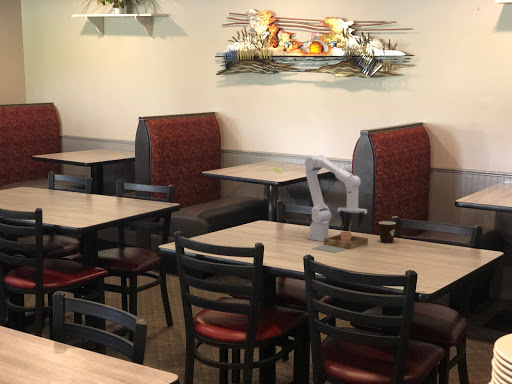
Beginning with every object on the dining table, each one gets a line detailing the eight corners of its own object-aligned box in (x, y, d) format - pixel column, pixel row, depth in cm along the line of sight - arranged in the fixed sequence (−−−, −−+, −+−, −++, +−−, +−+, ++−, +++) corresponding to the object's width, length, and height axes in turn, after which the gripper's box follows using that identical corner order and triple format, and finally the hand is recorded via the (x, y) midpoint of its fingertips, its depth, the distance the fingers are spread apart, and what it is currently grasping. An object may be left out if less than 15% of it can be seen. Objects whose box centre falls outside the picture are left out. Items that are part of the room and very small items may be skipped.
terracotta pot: (338, 244, 345) (338, 232, 344) (344, 242, 349) (344, 231, 348) (347, 246, 341) (347, 234, 340) (353, 244, 345) (353, 232, 344)
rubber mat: (312, 248, 336) (312, 248, 336) (322, 245, 342) (322, 245, 342) (335, 252, 326) (335, 252, 326) (346, 249, 333) (346, 249, 333)
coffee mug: (382, 244, 344) (383, 224, 343) (375, 240, 352) (375, 221, 351) (403, 242, 347) (404, 223, 346) (395, 239, 355) (396, 220, 354)
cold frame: (323, 244, 344) (323, 238, 344) (341, 239, 356) (341, 233, 356) (350, 249, 334) (350, 243, 333) (367, 243, 346) (367, 237, 345)
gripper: (336, 200, 339) (335, 227, 341) (365, 202, 333) (364, 229, 335) (339, 198, 345) (339, 224, 347) (368, 199, 340) (367, 226, 342)
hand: (351, 226), depth 342 cm, fingers open, 7 cm apart
